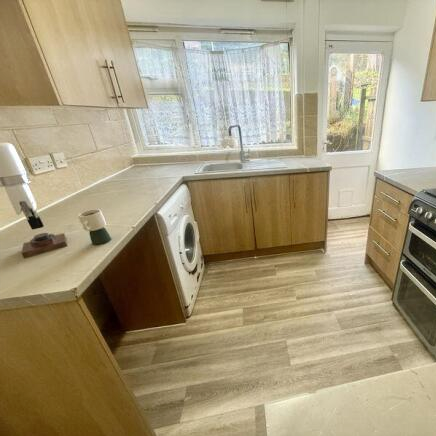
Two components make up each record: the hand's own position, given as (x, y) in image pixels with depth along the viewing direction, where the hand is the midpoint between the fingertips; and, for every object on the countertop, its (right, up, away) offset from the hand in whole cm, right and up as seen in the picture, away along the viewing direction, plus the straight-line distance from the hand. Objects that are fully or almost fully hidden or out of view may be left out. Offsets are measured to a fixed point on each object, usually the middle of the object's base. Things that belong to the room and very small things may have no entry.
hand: (38, 227), depth 91 cm
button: (0, -4, +2) cm, 5 cm away
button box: (0, -8, +3) cm, 8 cm away
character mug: (+20, -6, +6) cm, 21 cm away
